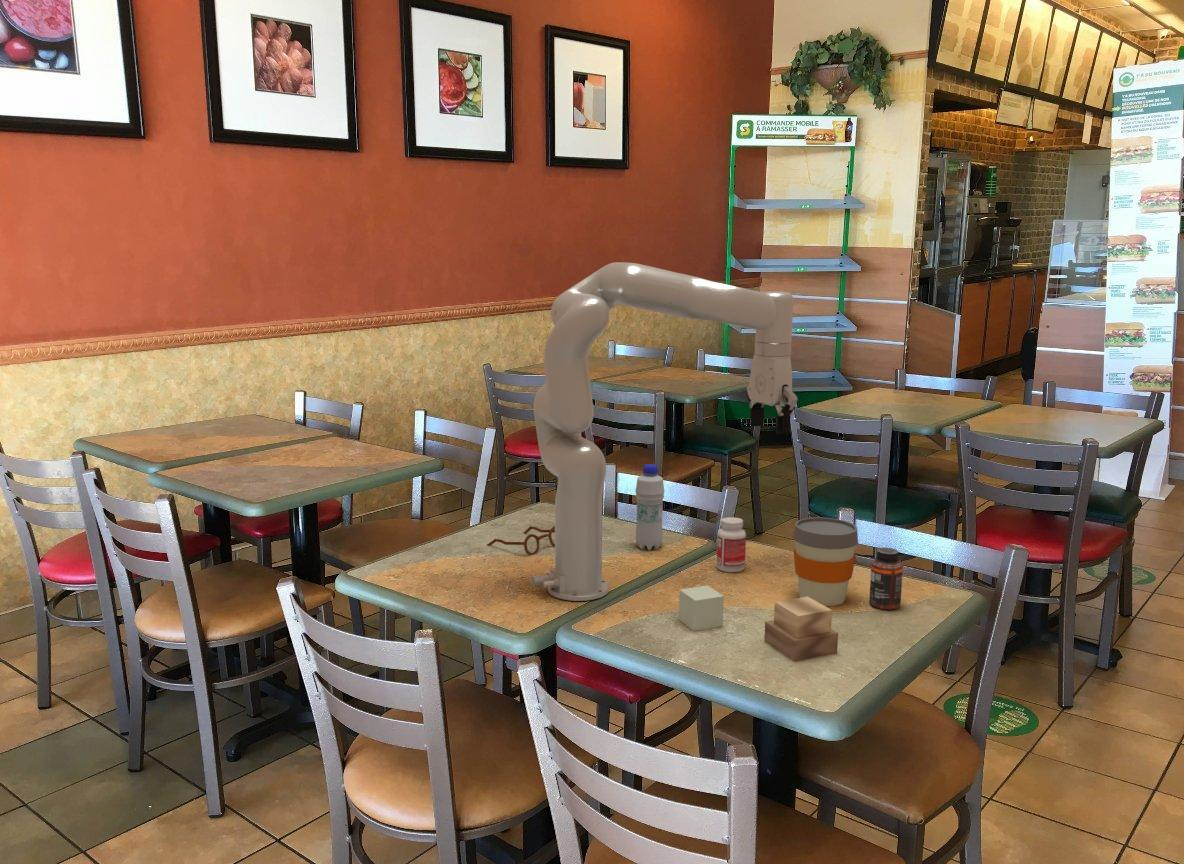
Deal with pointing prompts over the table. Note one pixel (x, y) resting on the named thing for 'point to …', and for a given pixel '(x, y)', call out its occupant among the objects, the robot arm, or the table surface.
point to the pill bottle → (731, 545)
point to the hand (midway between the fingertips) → (769, 429)
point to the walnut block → (800, 642)
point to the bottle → (649, 508)
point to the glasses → (528, 538)
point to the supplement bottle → (886, 579)
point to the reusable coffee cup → (824, 558)
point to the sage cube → (701, 608)
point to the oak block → (802, 617)
